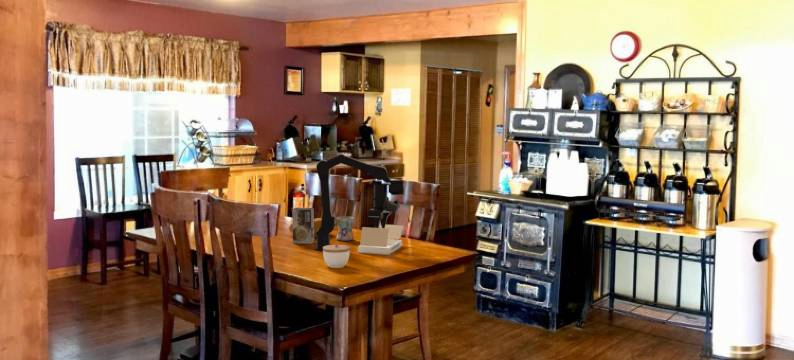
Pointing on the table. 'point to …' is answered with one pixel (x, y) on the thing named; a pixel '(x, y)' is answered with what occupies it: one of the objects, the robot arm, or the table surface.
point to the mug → (345, 228)
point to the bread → (316, 225)
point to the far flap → (393, 231)
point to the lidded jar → (336, 255)
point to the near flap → (374, 237)
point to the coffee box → (303, 225)
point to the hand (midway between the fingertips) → (380, 229)
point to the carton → (381, 248)
